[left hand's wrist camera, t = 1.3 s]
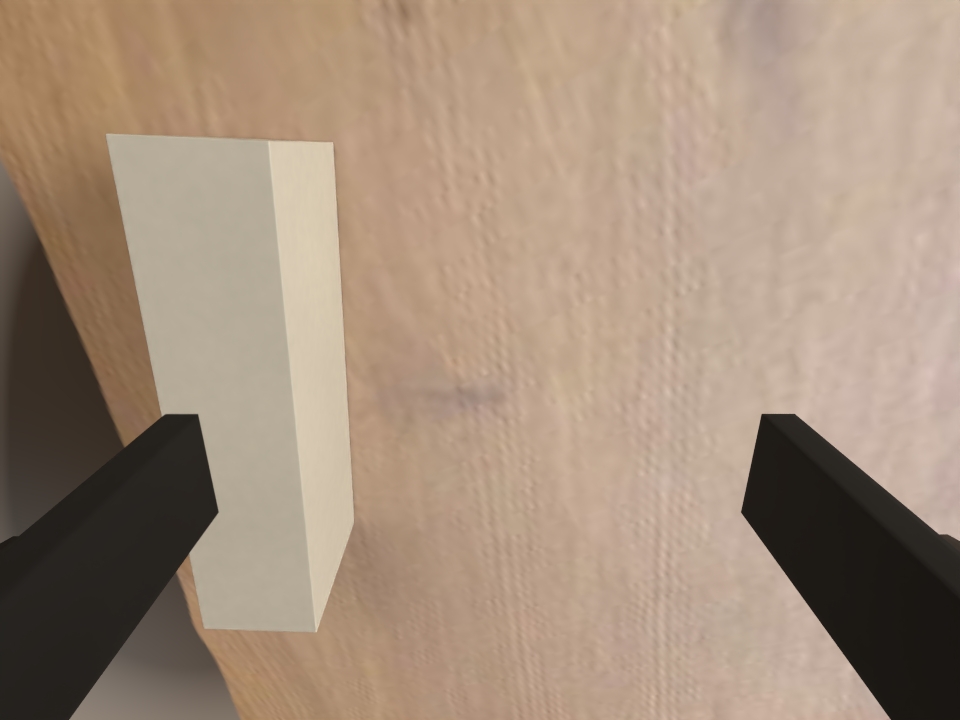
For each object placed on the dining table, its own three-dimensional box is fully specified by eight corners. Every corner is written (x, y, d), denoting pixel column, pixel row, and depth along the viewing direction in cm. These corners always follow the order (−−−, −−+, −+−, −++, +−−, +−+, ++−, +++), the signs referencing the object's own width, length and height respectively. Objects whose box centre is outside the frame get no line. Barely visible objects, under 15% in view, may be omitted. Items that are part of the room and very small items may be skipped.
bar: (218, 137, 26) (104, 133, 18) (333, 142, 26) (269, 140, 18) (267, 518, 34) (203, 629, 26) (354, 521, 34) (316, 633, 26)
